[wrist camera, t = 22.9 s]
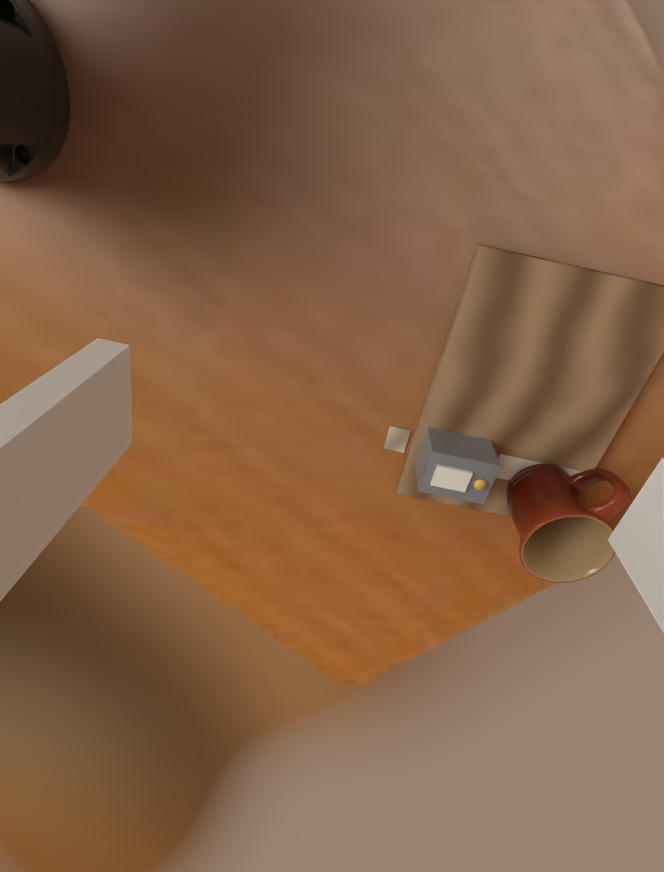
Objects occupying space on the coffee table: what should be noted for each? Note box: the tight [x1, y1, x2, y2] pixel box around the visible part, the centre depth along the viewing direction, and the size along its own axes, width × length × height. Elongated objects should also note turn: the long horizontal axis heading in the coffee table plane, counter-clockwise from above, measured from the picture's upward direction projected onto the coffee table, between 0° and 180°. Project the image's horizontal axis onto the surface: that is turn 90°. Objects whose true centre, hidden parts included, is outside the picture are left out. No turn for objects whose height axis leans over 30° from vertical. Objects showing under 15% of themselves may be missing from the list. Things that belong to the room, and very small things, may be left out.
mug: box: [506, 464, 630, 583], centre depth 49 cm, size 12×9×10 cm
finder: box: [415, 427, 501, 504], centre depth 51 cm, size 7×5×5 cm
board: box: [383, 244, 664, 517], centre depth 50 cm, size 23×28×1 cm
